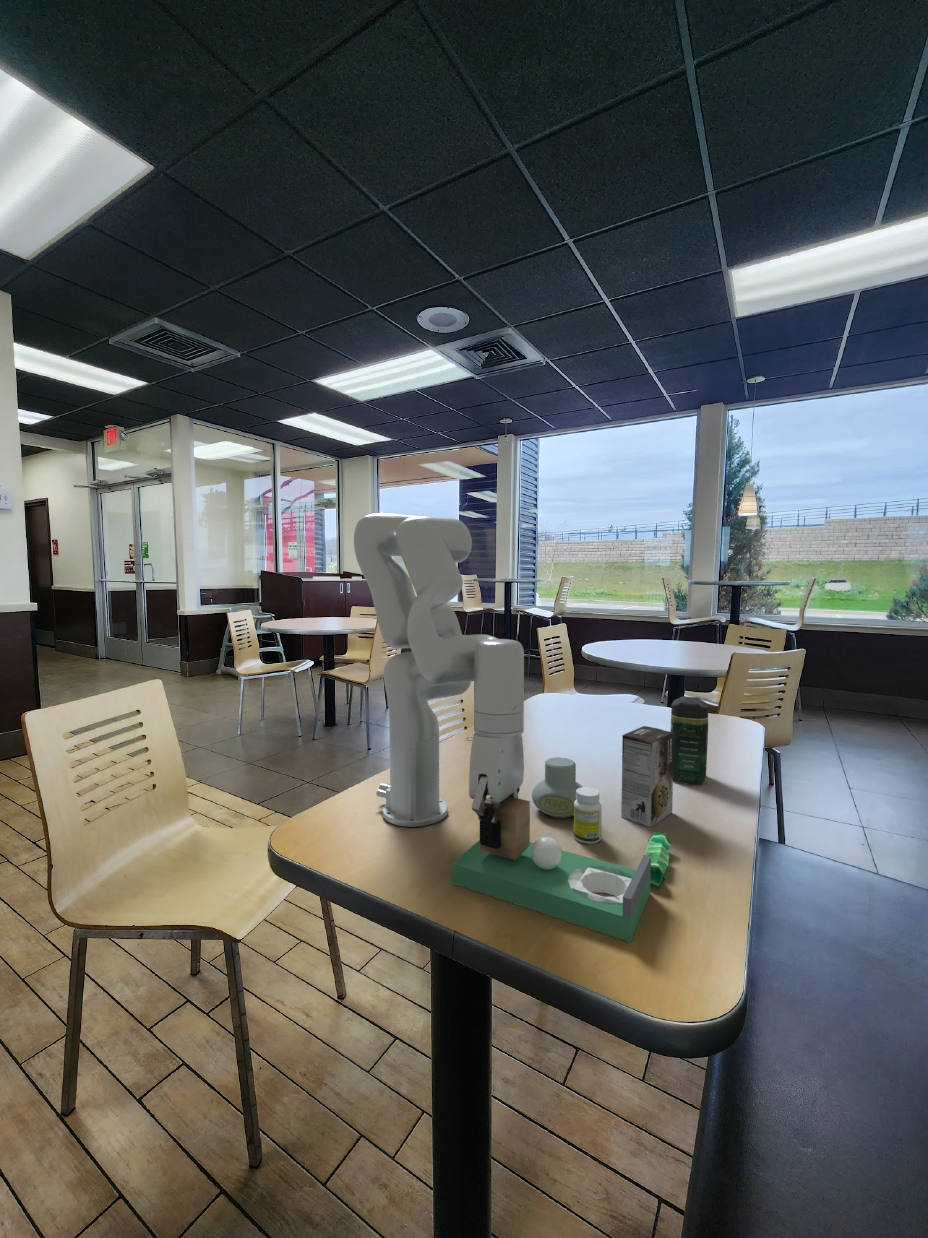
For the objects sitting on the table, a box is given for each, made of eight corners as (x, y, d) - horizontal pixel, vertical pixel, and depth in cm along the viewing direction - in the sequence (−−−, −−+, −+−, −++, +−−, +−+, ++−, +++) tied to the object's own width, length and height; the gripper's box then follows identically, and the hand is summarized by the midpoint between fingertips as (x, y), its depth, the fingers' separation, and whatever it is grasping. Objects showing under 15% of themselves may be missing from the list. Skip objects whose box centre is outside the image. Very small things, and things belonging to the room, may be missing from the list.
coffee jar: (706, 788, 116) (708, 704, 115) (667, 782, 119) (669, 700, 118) (706, 774, 125) (709, 695, 123) (670, 769, 128) (672, 692, 127)
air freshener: (527, 816, 102) (528, 765, 101) (536, 800, 110) (537, 752, 109) (585, 825, 98) (586, 772, 98) (590, 807, 106) (591, 758, 105)
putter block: (479, 850, 80) (479, 804, 80) (494, 836, 85) (494, 793, 84) (515, 860, 77) (515, 813, 77) (529, 845, 81) (529, 801, 81)
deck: (452, 883, 79) (451, 847, 79) (489, 848, 89) (489, 816, 89) (630, 942, 66) (631, 899, 65) (650, 894, 76) (650, 856, 76)
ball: (526, 870, 77) (526, 841, 77) (538, 857, 81) (538, 829, 80) (555, 879, 75) (555, 848, 74) (565, 864, 78) (566, 835, 78)
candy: (670, 886, 77) (654, 860, 78) (649, 894, 78) (633, 868, 79) (676, 849, 88) (662, 827, 88) (657, 857, 89) (643, 834, 90)
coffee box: (642, 803, 108) (643, 725, 107) (673, 813, 103) (675, 731, 102) (619, 817, 101) (620, 734, 100) (651, 828, 97) (653, 741, 96)
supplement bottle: (581, 829, 96) (581, 784, 96) (605, 837, 93) (606, 790, 93) (568, 839, 93) (569, 792, 92) (593, 847, 90) (594, 799, 89)
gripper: (502, 707, 89) (502, 813, 91) (447, 731, 75) (448, 856, 76) (543, 712, 86) (543, 822, 87) (494, 738, 71) (495, 870, 72)
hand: (499, 837), depth 81 cm, fingers closed on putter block, 5 cm apart
